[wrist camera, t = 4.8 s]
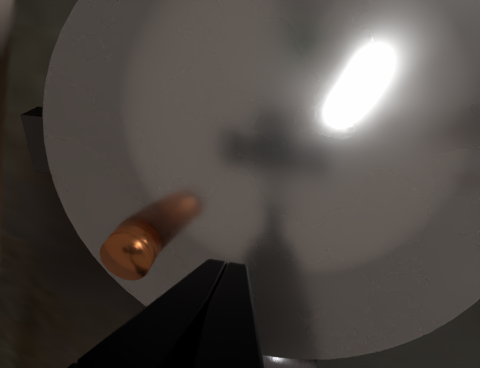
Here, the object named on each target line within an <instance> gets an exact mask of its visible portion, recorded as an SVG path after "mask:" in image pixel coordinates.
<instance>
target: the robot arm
mask: <svg viewBox="0 0 480 368" xmlns="http://www.w3.org/2000/svg"><path fill="white" fill-rule="evenodd" d="M67 368H264V363H263V356H262V350H261V344H260V338H259V332H258V326H257V320H256V314H255V307H254V301H253V295H252V289H251V283H250V277H249V271H248V266H247V265H246V264H241V263H235V262H229V263H227V262H226V261H223V260H217V259H208V260H206V261H205V262H204V263H202V264H201V265H200V266H198V267H197V268H196V269H194V270H193V271H192V272H191V273H189V274H188V275H187V276H185V277H184V278H183V279H182V280H180V281H179V282H178V283H176V284H175V285H174V286H172V287H171V288H170V289H169V290H167V291H166V292H165V293H163V294H162V295H161V296H159V297H158V298H157V299H156V300H154V301H153V302H152V303H150V304H149V305H148V306H147V307H145V308H144V309H143V310H141V311H140V312H139V313H137V314H136V315H135V316H134V317H132V318H131V319H130V320H128V321H127V322H126V323H125V324H123V325H122V326H121V327H119V328H118V329H117V330H115V331H114V332H113V333H112V334H110V335H109V336H108V337H106V338H105V339H104V340H103V341H101V342H100V343H99V344H97V345H96V346H95V347H93V348H92V349H91V350H90V351H88V352H87V353H86V354H84V355H83V356H82V357H81V358H79V359H78V360H77V363H73V364H71V365H70V366H69V367H67Z"/></svg>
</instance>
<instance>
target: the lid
mask: <svg viewBox="0 0 480 368" xmlns="http://www.w3.org/2000/svg"><path fill="white" fill-rule="evenodd" d="M43 131H44V143H45V148H46V154H47V159H48V165H49V169H50V172H51V175H52V178H53V182H54V185H55V188H56V191H57V194H58V196H59V198H60V200H61V203H62V205H63V207H64V210H65V212H66V214H67V216H68V218H69V219H70V221H71V223H72V225H73V226H74V228H75V230H76V232H77V233H78V235H79V237H80V238H81V240H82V241H83V242H84V244H85V245H86V247H87V248H88V249H89V251H90V252H91V254H92V255H93V256H94V257H95V259H96V260H97V261H98V262H99V263H100V264H101V265H102V267H103V268H104V269H105V270H106V271H107V272H108V274H109V275H110V276H111V277H113V278H114V279H115V280H116V281H117V282H118V283H119V284H120V285H121V286H122V287H123V288H124V289H125V290H126V291H127V292H129V293H130V294H131V295H132V296H134V297H135V298H136V299H137V300H139V301H140V302H141V303H142V304H144V305H145V306H146V307H147V306H148V305H149V304H150V303H152V302H153V301H154V300H156V299H157V298H158V297H159V296H161V295H162V294H163V293H165V292H166V291H167V290H169V289H170V288H171V287H172V286H174V285H175V284H176V283H178V282H179V281H180V280H182V279H183V278H184V277H185V276H187V275H188V274H189V273H191V272H192V271H193V270H194V269H196V268H197V267H198V266H200V265H201V264H202V263H204V262H205V261H206V260H208V259H217V260H223V261H226V262H227V263H229V262H235V263H241V264H246V265H247V266H248V271H249V277H250V283H251V289H252V295H253V301H254V307H255V314H256V320H257V326H258V332H259V338H260V344H261V350H262V356H263V363H264V368H317V359H336V358H345V357H354V356H359V355H364V354H369V353H374V352H378V351H382V350H385V349H388V348H392V347H395V346H398V345H401V344H404V343H407V342H409V341H412V340H414V339H416V338H418V337H421V336H423V335H425V334H428V333H430V332H432V331H433V330H435V329H437V328H439V327H440V326H442V325H444V324H446V323H447V322H449V321H451V320H452V319H454V318H456V317H457V316H458V315H460V314H461V313H462V312H464V311H465V310H466V309H468V308H469V307H470V306H472V305H473V304H474V303H475V302H477V301H478V300H479V299H480V0H78V1H77V3H76V4H75V6H74V8H73V10H72V11H71V13H70V15H69V17H68V18H67V20H66V22H65V24H64V25H63V27H62V29H61V32H60V35H59V37H58V40H57V42H56V45H55V48H54V50H53V53H52V55H51V59H50V64H49V68H48V73H47V77H46V82H45V88H44V101H43Z"/></svg>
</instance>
